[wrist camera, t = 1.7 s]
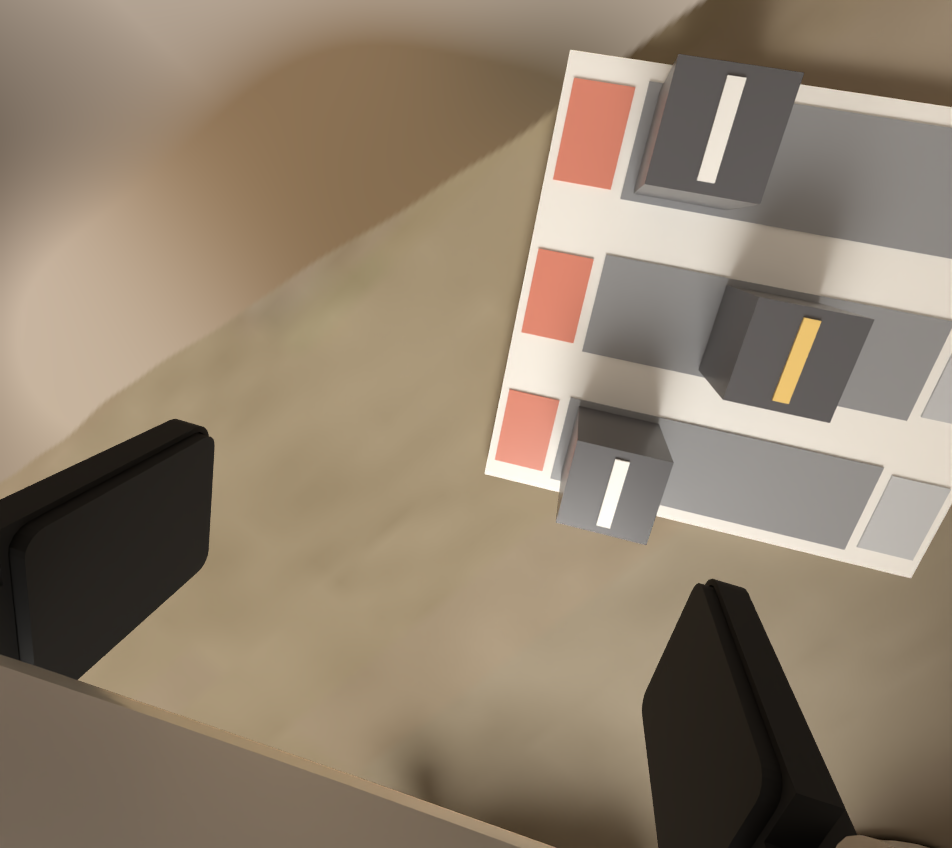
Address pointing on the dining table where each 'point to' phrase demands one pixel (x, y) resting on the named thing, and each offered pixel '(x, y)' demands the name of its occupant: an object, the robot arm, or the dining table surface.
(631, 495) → the panel
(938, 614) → the dining table surface
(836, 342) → the toggle
